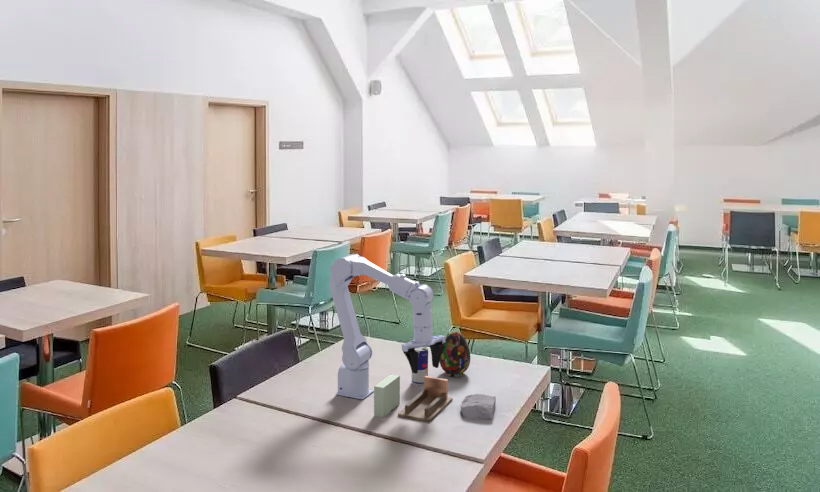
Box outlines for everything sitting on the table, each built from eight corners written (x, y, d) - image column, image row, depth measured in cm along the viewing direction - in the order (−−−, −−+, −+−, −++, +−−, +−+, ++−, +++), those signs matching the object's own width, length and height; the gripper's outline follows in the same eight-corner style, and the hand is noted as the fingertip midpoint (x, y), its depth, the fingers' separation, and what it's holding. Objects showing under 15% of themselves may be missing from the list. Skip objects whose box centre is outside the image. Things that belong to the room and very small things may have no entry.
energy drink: (427, 386, 211) (428, 350, 210) (411, 386, 211) (411, 350, 210) (427, 380, 217) (428, 345, 215) (411, 380, 217) (412, 345, 215)
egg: (435, 377, 219) (436, 334, 217) (443, 367, 230) (443, 326, 227) (466, 380, 216) (467, 337, 214) (472, 370, 226) (473, 329, 224)
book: (374, 415, 188) (374, 386, 187) (390, 402, 198) (390, 374, 197) (383, 417, 187) (383, 387, 186) (399, 404, 197) (399, 375, 195)
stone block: (460, 423, 188) (494, 420, 186) (457, 407, 187) (492, 404, 185) (465, 409, 199) (497, 405, 197) (463, 394, 199) (495, 390, 197)
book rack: (397, 416, 188) (398, 393, 187) (422, 394, 204) (422, 374, 203) (429, 422, 184) (430, 399, 183) (452, 400, 200) (452, 379, 199)
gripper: (409, 332, 186) (412, 378, 188) (450, 323, 194) (452, 367, 195) (396, 328, 192) (399, 372, 193) (436, 319, 199) (438, 362, 201)
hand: (425, 369), depth 195 cm, fingers open, 7 cm apart
